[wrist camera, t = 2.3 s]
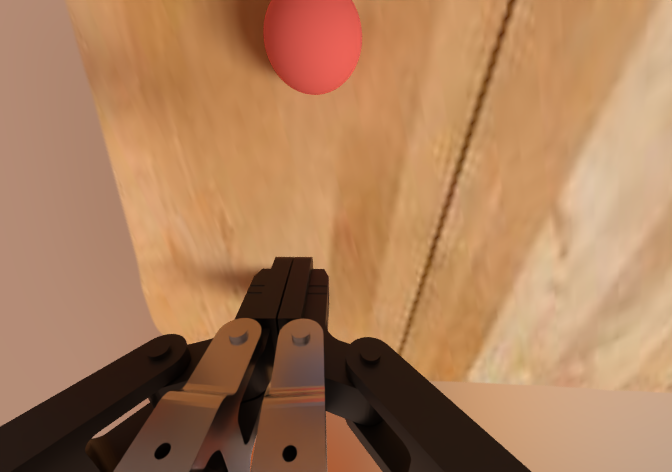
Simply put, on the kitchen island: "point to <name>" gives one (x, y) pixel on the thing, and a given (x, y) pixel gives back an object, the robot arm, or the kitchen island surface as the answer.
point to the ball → (313, 42)
